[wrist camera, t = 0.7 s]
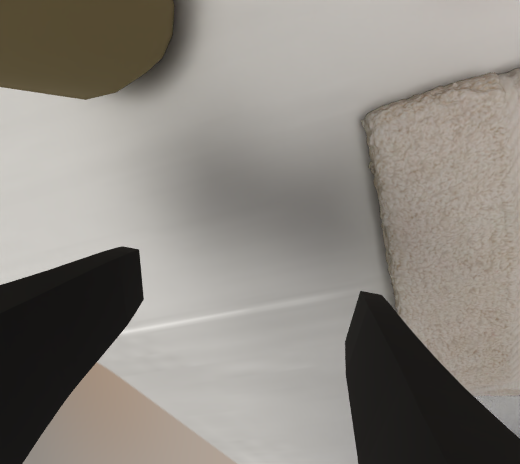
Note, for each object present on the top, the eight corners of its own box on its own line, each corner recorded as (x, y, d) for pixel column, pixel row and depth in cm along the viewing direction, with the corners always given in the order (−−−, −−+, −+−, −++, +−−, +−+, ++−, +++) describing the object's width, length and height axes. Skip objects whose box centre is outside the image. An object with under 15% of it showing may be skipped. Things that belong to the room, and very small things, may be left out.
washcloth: (402, 376, 20) (415, 420, 17) (350, 110, 14) (357, 113, 11) (625, 363, 17) (684, 414, 14) (680, 3, 11) (806, -31, 8)
